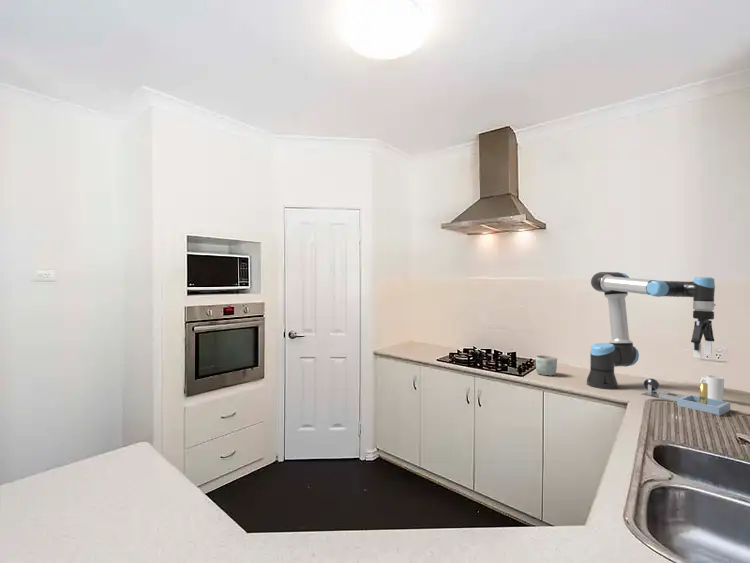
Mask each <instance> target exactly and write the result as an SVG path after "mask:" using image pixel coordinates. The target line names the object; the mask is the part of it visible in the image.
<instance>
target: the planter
mask: <svg viewBox="0 0 750 563" xmlns="http://www.w3.org/2000/svg"><path fill="white" fill-rule="evenodd" d="M557 366H558V358H557V357H556V356H551V355H536V356H535V370H536V373H537V374H539V375H540V374H541V376H545V375H549V377H550V376H551V377H553V376H555V375H556V373H557V368H558V367H557ZM552 375H553V376H552Z"/></svg>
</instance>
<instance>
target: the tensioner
mask: <svg viewBox="0 0 750 563" xmlns="http://www.w3.org/2000/svg"><path fill="white" fill-rule="evenodd" d="M643 386H644V388H645V389H646V390H647V392H643V393H641V394H640V395H642V396H647V397H651V398H656V399H660V400H665V401H669V402H675V403H677V399H679V398H681V397H684V396H687V394H686V395H685V394H679V393H675V392H670V391H662V392H658V391H657V390H659V388H660V383H659V381H658V380H657V379H655V378H648V379H645V380H644V381H643Z"/></svg>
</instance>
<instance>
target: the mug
mask: <svg viewBox="0 0 750 563" xmlns="http://www.w3.org/2000/svg"><path fill="white" fill-rule="evenodd" d="M704 381H705V383H707V384H708V398H710V399H715V400H720V401H724V391H725V390H724V389H725V377H722V376H720V375H708V374H707V375H705V376H701V378H700V380H699V384H700V383H704Z"/></svg>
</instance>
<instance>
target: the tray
mask: <svg viewBox="0 0 750 563" xmlns="http://www.w3.org/2000/svg"><path fill="white" fill-rule="evenodd" d="M676 406H677V407H682V408H687V409H691V410H695V411H701V412H705V413H710V414H714V416H717V417H720V416H723V415H724V414H726V413H728V412H730V411H731V402H730V401H724V400H723V401H720V400H715V399H710V398H708V405H707V404H702V403H700V395H694V394H686V396H684V397H681V398H679V399H677V402H676ZM729 410H730V411H729Z"/></svg>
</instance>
